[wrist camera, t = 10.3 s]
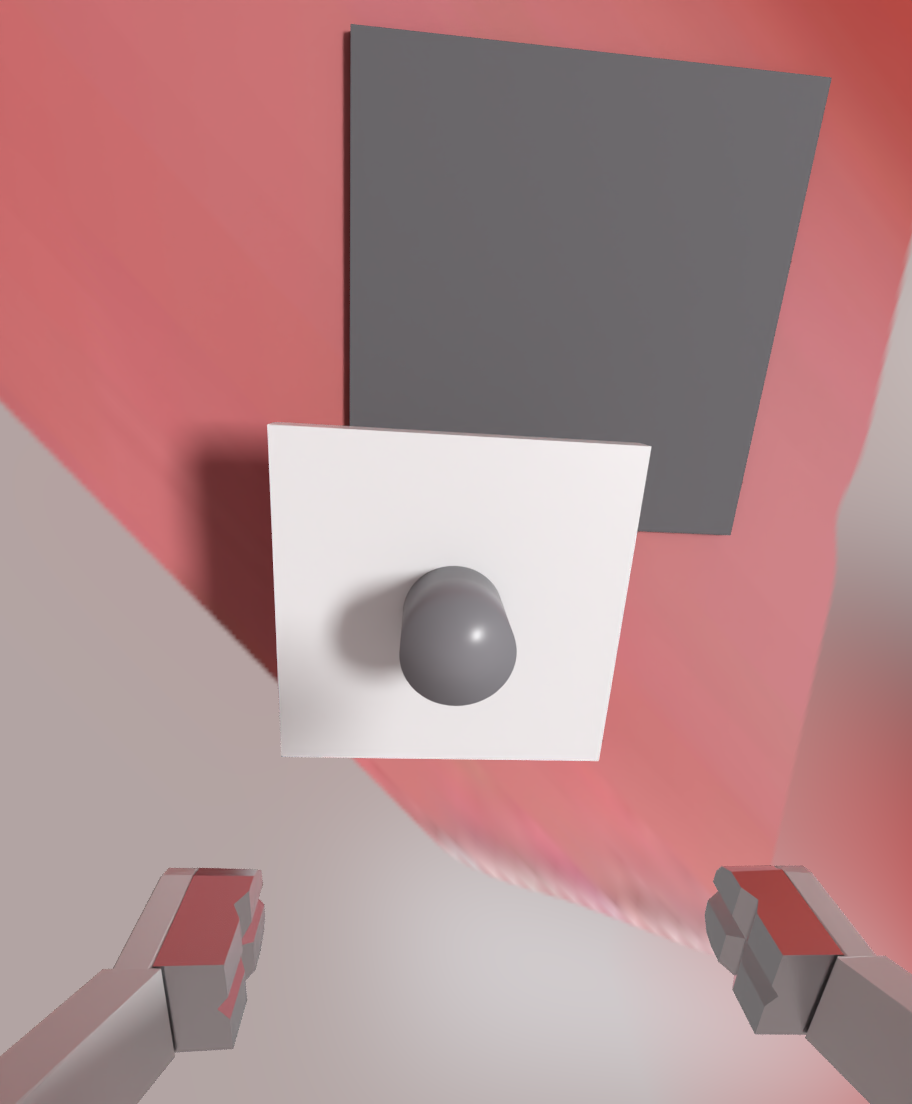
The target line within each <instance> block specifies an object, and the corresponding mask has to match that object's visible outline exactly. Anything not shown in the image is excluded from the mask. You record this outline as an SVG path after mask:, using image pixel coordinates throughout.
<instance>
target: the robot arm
mask: <svg viewBox="0 0 912 1104" xmlns="http://www.w3.org/2000/svg"><path fill="white" fill-rule="evenodd" d="M713 882H714V884H715V886H716V888H717V890H718V892H717V893H716V894H715V895H713V896H712V897H711V898H710V899H709V900H708V902H707V907H706V911H705V922H706V931H707V935H708V938H709V941H710V944H711V947H712V949H713V951H714V953H715V955H716V957H717V959H718V961H719V962H720V963H721V964H722V965H723V966H724V967H726V968H727V969H728V970H729V971H730V972H731V973H732V974H733V975H734V981H733V991H734V994H735V996H736V998H737V1000H738V1001H739V1003H740V1005H741V1007H742V1009H743V1011H744V1013H745V1015H746V1017H747V1019H748V1021H749V1023H750V1025H751V1027H752V1029H753V1031H754V1033H755V1034H798V1035H801V1034H804V1035H806V1037H805V1038H806V1039H807V1040H808V1041H809V1042H810V1043H811V1044H812V1045H813V1046H814V1047H815V1048H816V1049H817V1050H818V1051H819V1052H820V1053H821V1054H822V1055H823V1056H824V1057H825V1058H826V1059H827V1060H828V1061H829V1062H830V1063H831V1064H832V1065H833V1066H834V1067H835V1068H836V1069H837V1070H838V1071H839V1073H840V1074H842V1076H844V1078H845V1079H846V1080H848V1082H849V1083H850V1084H851V1085H852V1086H853V1087H854V1088H855V1089H856V1090H857V1091H858V1092H859V1093H860V1094H861V1095H862V1096H863V1097H864V1098H866V1100H867V1101H868V1102H869V1103H870V1104H912V974H910V973H909V972H908V971H906V970H905V969H903V968H902V967H900V966H899V965H897V964H896V963H894V962H893V961H892V960H890V959H889V958H887V957H886V956H876V955H875V953H874V952H873V951H872V949H871V948H870V947H869V946H868V944H867V943H866V942H865V940H864V939H863V938H862V937H861V935H860V934H859V933H858V931H857V930H856V929H855V928H854V926H853V925H852V924H851V923H850V921H849V920H848V919H847V917H846V916H845V915H844V913H843V912H842V911H841V910H840V908H839V907H838V906H837V904H836V903H835V902H834V901H833V899H832V898H831V897H830V896H829V894H828V893H827V892H826V890H825V889H824V888H823V886H822V885H821V884H820V883H819V881H818V880H817V879H816V877H815V876H814V875H813V874H812V872H810V871H809V870H808V869H807V868H805V867H804V866H771V865H764V866H722V867H720V868H719V869H718V870H717V871H716V874H715V877H714V881H713ZM262 886H263V882H262V872H261V870H258V869H221V868H168V870H167V871H166V872H165V873H164V874H163V875H162V876H161V877H160V879H159V881H158V883H157V885H156V887H155V889H154V890H153V892H152V894H151V897H150V898H149V900H148V902H147V904H146V906H145V908H144V910H143V912H142V914H141V915H140V918H139V919H138V921H137V923H136V925H135V927H134V929H133V931H132V933H131V935H130V937H129V939H128V941H127V942H126V944H125V946H124V948H123V950H122V952H121V954H120V956H119V958H118V960H117V962H116V964H115V966H114V967H113V969H102V970H101V971H100V972H99V973H98V974H97V975H95V976H94V977H93V978H92V979H91V980H89V981H88V982H87V983H86V984H85V985H84V986H82V987H81V988H80V989H79V990H78V991H77V992H75V993H74V994H73V995H72V996H71V997H70V998H68V999H67V1000H66V1001H65V1002H64V1003H62V1004H61V1005H60V1006H59V1007H58V1008H56V1009H55V1010H54V1011H53V1012H52V1013H51V1014H49V1015H48V1016H47V1017H46V1018H45V1019H44V1020H42V1021H41V1022H40V1023H39V1024H38V1025H37V1026H36V1027H34V1028H33V1029H32V1030H31V1031H29V1033H27V1034H26V1035H25V1036H24V1037H22V1038H21V1039H20V1040H19V1041H18V1042H16V1043H15V1044H14V1045H13V1046H12V1047H11V1048H9V1049H8V1050H7V1051H6V1052H5V1053H3V1054H2V1055H1V1056H0V1104H137V1103H138V1102H139V1101H140V1100H141V1098H142V1097H143V1096H144V1094H145V1093H146V1092H147V1091H148V1090H149V1088H150V1087H151V1086H152V1085H153V1083H154V1082H155V1081H156V1079H157V1078H158V1077H159V1076H160V1075H161V1073H162V1072H163V1071H164V1070H165V1069H166V1067H167V1066H168V1065H169V1063H170V1062H171V1061H172V1060H173V1059H174V1057H175V1053H174V1052H190V1051H207V1050H222V1049H233V1048H234V1044H235V1041H236V1037H237V1033H238V1030H239V1026H240V1023H241V1020H242V1016H243V1013H244V1009H245V1005H246V1002H247V993H246V982H245V981H246V979H247V978H248V977H249V976H250V975H251V974H252V973H253V972H254V971H255V969H256V966H257V962H258V958H259V955H260V951H261V945H262V939H263V933H264V923H265V909H264V904H263V903H262V902H261V901H260V900H259V896H260V893H261V889H262Z"/></svg>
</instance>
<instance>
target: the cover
mask: <svg viewBox="0 0 912 1104" xmlns="http://www.w3.org/2000/svg"><path fill="white" fill-rule="evenodd" d="M267 429H268V453H269V476H270V500H271V524H272V548H273V572H274V596H275V620H276V644H277V668H278V692H279V714H280V715H279V716H280V740H281V757H333V758H334V757H335V758H337V757H338V758H410V759H487V760H564V761H599V756H600V750H601V744H602V738H603V732H604V726H605V720H606V715H607V709H608V703H609V697H610V691H611V685H612V679H613V673H614V667H615V661H616V655H617V649H618V643H619V637H620V631H621V625H622V619H623V613H624V607H625V601H626V595H627V589H628V583H629V577H630V572H631V566H632V560H633V554H634V548H635V542H636V536H637V530H638V524H639V518H640V512H641V506H642V500H643V494H644V488H645V482H646V476H647V470H648V464H649V458H650V452H651V446H648V445H645V444H641V443H633V442H615V441H598V440H581V439H564V438H546V437H529V436H512V435H495V434H477V433H460V432H443V431H425V430H408V429H391V428H374V427H356V426H339V425H322V424H304V423H287V422H274V423H270V424H267Z"/></svg>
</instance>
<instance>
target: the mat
mask: <svg viewBox="0 0 912 1104" xmlns="http://www.w3.org/2000/svg"><path fill="white" fill-rule="evenodd" d="M830 83H831V78H830V77H821V76H812V75H803V74H794V73H785V72H776V71H767V70H758V69H749V68H740V67H732V66H723V65H714V64H705V63H696V62H687V61H678V60H669V59H660V58H651V57H642V56H633V55H624V54H615V53H606V52H597V51H588V50H579V49H570V48H561V47H552V46H543V45H534V44H525V43H516V42H508V41H499V40H490V39H481V38H472V37H463V36H454V35H445V34H436V33H427V32H418V31H409V30H400V29H391V28H382V27H373V26H364V25H355V24H351V86H350V426H356V427H374V428H391V429H408V430H425V431H443V432H460V433H477V434H495V435H512V436H529V437H546V438H564V439H581V440H598V441H615V442H633V443H641V444H645V445H648V446H651V452H650V458H649V464H648V470H647V476H646V482H645V488H644V494H643V500H642V506H641V512H640V518H639V524H638V530H637V531H647V532H669V533H692V534H714V535H731V530H732V526H733V521H734V517H735V512H736V508H737V503H738V499H739V494H740V490H741V485H742V480H743V476H744V471H745V467H746V462H747V458H748V453H749V449H750V444H751V440H752V435H753V431H754V426H755V422H756V417H757V413H758V408H759V404H760V399H761V395H762V390H763V386H764V381H765V377H766V372H767V367H768V363H769V358H770V354H771V349H772V345H773V340H774V336H775V331H776V327H777V322H778V318H779V313H780V309H781V304H782V300H783V295H784V291H785V286H786V282H787V277H788V273H789V268H790V263H791V259H792V254H793V250H794V245H795V241H796V236H797V232H798V227H799V223H800V218H801V214H802V209H803V205H804V200H805V196H806V191H807V187H808V182H809V178H810V173H811V169H812V164H813V159H814V155H815V150H816V146H817V141H818V137H819V132H820V128H821V123H822V119H823V114H824V110H825V105H826V101H827V96H828V92H829V87H830Z"/></svg>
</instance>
